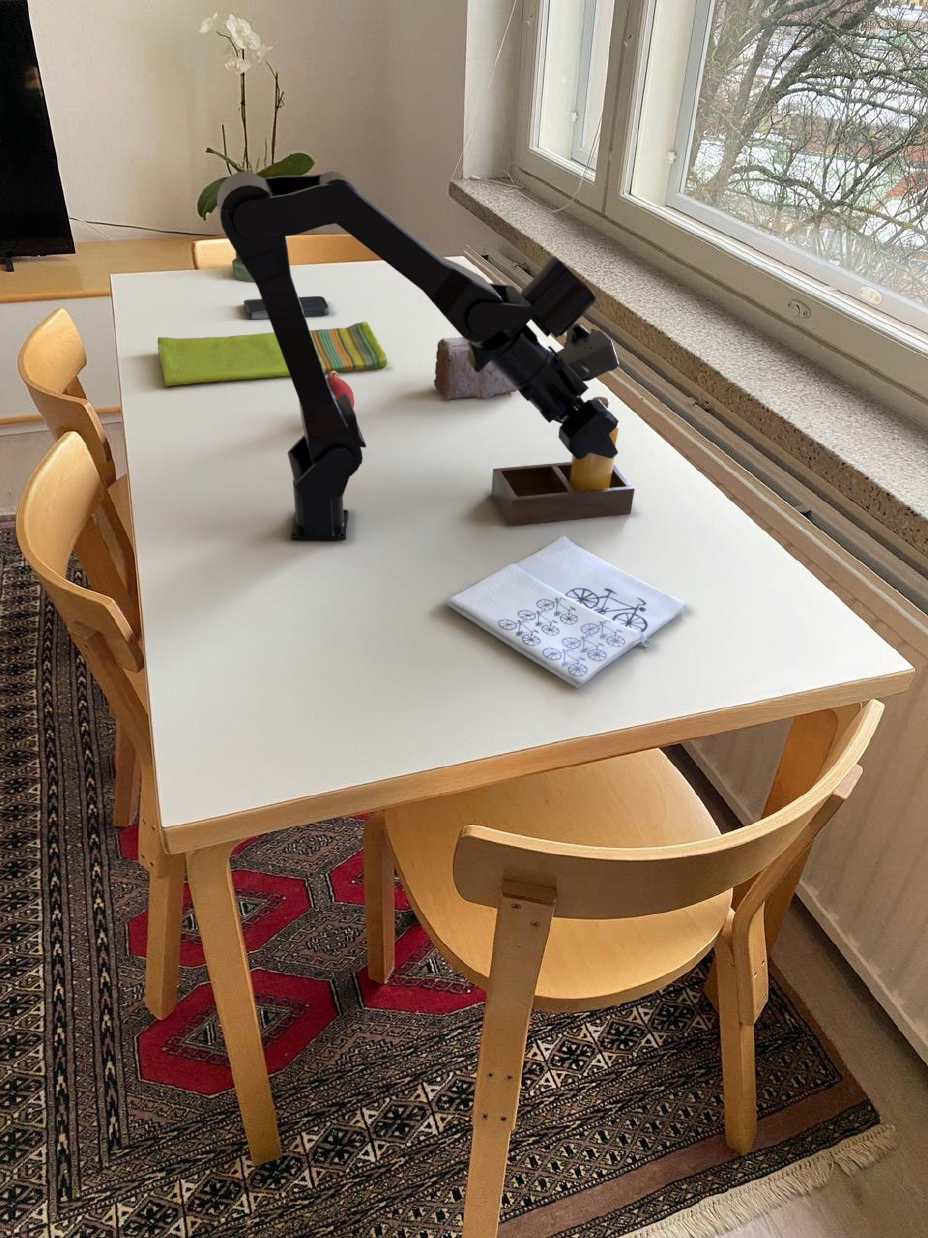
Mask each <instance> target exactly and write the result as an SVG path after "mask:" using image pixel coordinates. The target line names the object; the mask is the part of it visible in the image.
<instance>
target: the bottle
mask: <svg viewBox="0 0 928 1238" xmlns="http://www.w3.org/2000/svg"><path fill="white" fill-rule="evenodd" d="M594 399H599V400H600V401H601V402H602V404H603V405H604V406H605V407H606V408H607V409H608V410H609V403H610V400H609V399H608V398H607V397H604V396H595V397H593V398H592V399H591V400H594ZM619 427H620V424H619V423H618V425H617V427H616V428H615V429H614V430H613V431H612V432H611V433H610V434H609V436H610V437H611V439H612V441H613V443H614V445H615V447H616V448H617V440H618V436H619V435H618V434H619ZM614 461H615V457H614V458H612V459H611V458H607V457H604V456H600V455H596V454H592V453H588V454H587V455H586V456H585V457H584V458H583V459H579V460H578V459H577V458H576V457H575V456H574V455H573V454H572V453H571V461H570V462H571V471H570V479H569V483H570V485H571V486H572V488H573V489H574V490H575V491H584V490H594V489H604V488H610V483H611V476H612V469H613V463H614Z"/></svg>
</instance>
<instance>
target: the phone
mask: <svg viewBox="0 0 928 1238" xmlns="http://www.w3.org/2000/svg"><path fill="white" fill-rule="evenodd" d="M298 298H299V300H300V303H301V306H302V309H303V312H304V315H305V317H316V316H318V317H319V316H327V315H329V314H330V310H329V309H330V307H329V305H328V303H327V301H326V299H325V297H324V296H321V295H312V296H311V295H310V296H298ZM243 307H244V308H243V309H244V312H245V314H246V318H247V319H250V320H261V319H269V317H268V314H267V311H266V309H265V306H264V303H263V300H262V298H251V299H245V300H243Z"/></svg>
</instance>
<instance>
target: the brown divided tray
mask: <svg viewBox="0 0 928 1238" xmlns="http://www.w3.org/2000/svg"><path fill="white" fill-rule="evenodd" d="M571 462H572V461H565V462H553V463H542V464H533V465H520V466H508V467H497V468H496V467H495V468H493V469H492V475H491V476H492V477H491V491H490V493H491V496H492V497H493V499H494V501H495V502H496V504H497V506H498V507H499V509H500V511H501V513H502V515H503V516H504V517H505V519H506V521H507V523H508V524H509V527H515V526H525V525H535V524H541V523H542V524H545V523H553V522H564V521H573V520H582V519H593V518H602V517H612V516H621V515H630V514H631V513H632V507H633V502H634V495H635V490H636V488H635V487H634V485H632V483H630V481H629V480H628V479H627V478H626V477H625V475H624V474H623V472H621V471H620V469H619V468H618V467H617V466H616V465H615V463H614V462H613V469H612V476H611V483H610V488H604V489H594V490H584V491H575V490H574V489H573V488H572V486H571V485H570V483H569V479H570V471H571Z"/></svg>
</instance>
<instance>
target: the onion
mask: <svg viewBox="0 0 928 1238" xmlns="http://www.w3.org/2000/svg"><path fill="white" fill-rule="evenodd" d="M326 379H327V382H328V385H329V387H330V389H331V390H332V392H333V394H334V395H335V397H336V398H338V397H340V396H342V395H344V394H347V395H348V397H349V400H350V402H351V405H352V407H353V409H354V408H355V397H354V392H353V389H352V388H351V386H350V385H349V384H348V383H347V382H346V381H345V380H344V379H341V378H340V377H339V372H336V371H331V372H330V373H328V375H327V377H326Z"/></svg>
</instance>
